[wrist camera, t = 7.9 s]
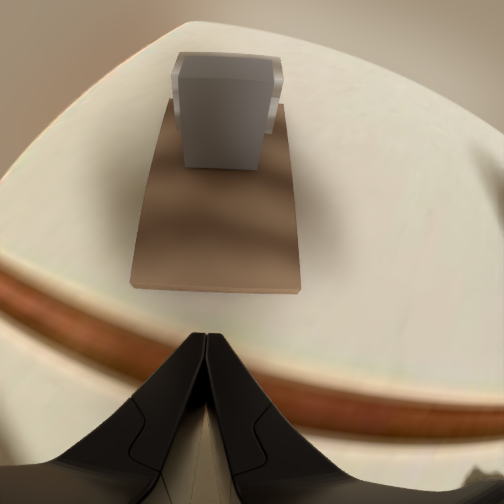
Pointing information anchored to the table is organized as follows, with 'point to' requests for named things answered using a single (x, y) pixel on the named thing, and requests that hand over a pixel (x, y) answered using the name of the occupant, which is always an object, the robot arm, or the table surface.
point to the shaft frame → (219, 212)
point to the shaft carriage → (224, 110)
